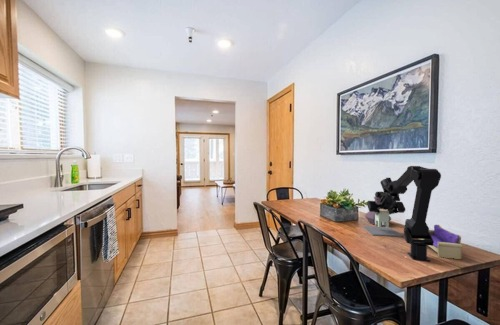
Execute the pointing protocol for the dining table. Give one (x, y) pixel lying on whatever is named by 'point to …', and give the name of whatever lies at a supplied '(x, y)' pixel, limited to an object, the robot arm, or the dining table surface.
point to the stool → (382, 218)
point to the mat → (382, 231)
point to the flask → (373, 213)
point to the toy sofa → (445, 243)
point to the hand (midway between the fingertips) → (380, 214)
